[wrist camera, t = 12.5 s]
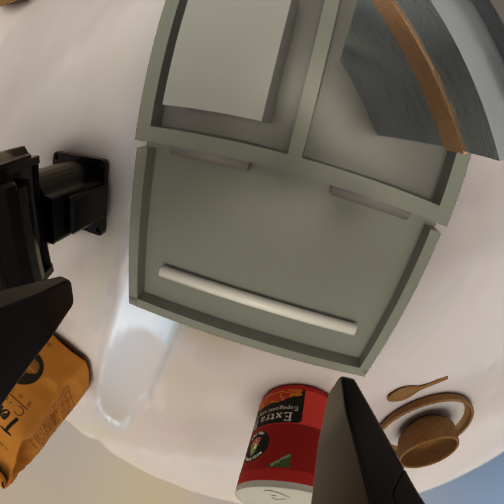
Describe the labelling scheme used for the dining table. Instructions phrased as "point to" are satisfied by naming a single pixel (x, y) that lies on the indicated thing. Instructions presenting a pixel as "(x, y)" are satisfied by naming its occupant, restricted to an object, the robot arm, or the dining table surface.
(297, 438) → the canned food
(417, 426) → the place setting
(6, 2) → the bread roll
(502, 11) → the block
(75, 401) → the coffee package
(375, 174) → the case
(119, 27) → the dining table surface
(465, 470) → the dining table surface
